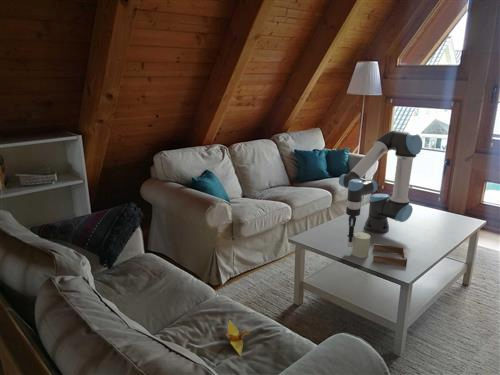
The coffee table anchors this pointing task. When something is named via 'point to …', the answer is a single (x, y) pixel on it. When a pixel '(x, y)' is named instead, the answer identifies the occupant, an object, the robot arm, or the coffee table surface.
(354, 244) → the can
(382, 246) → the bay
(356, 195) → the robot arm
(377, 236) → the coffee table surface
